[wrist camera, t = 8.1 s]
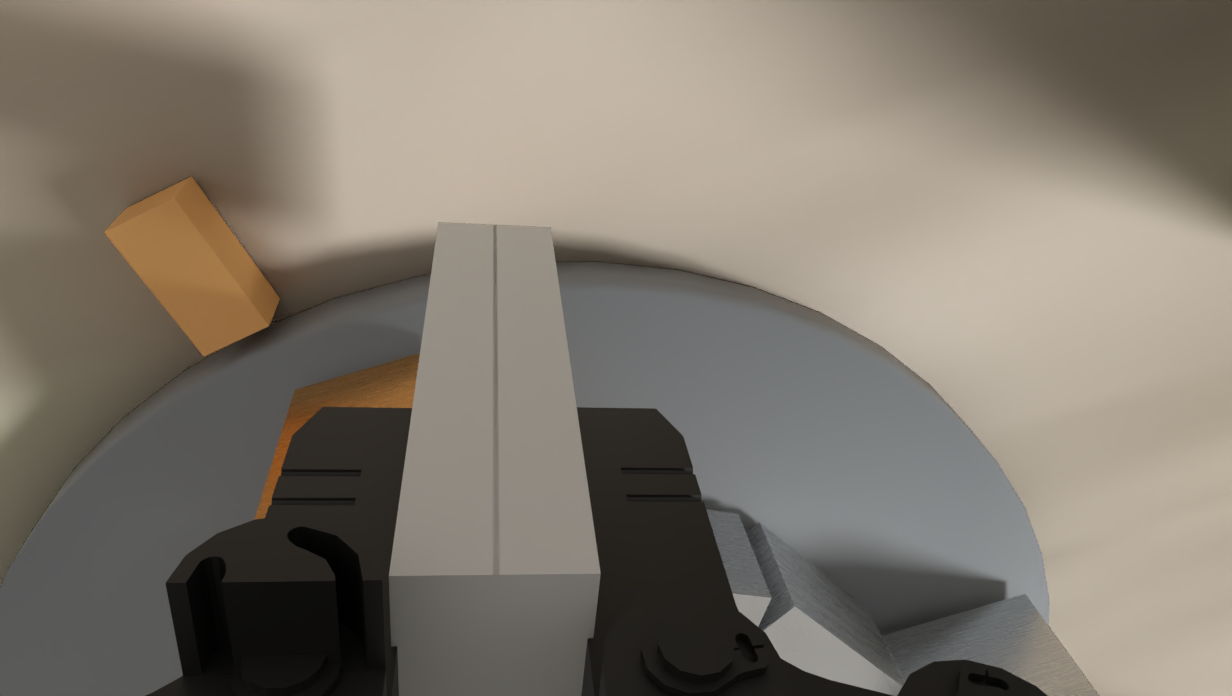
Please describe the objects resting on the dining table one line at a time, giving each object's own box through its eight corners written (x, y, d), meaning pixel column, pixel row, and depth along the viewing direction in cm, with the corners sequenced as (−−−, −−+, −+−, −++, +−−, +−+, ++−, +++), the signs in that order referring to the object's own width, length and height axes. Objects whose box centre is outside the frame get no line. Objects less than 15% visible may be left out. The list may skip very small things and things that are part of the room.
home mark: (280, 299, 16) (269, 325, 15) (218, 327, 16) (203, 356, 15) (191, 176, 14) (174, 198, 14) (125, 208, 14) (104, 232, 14)
